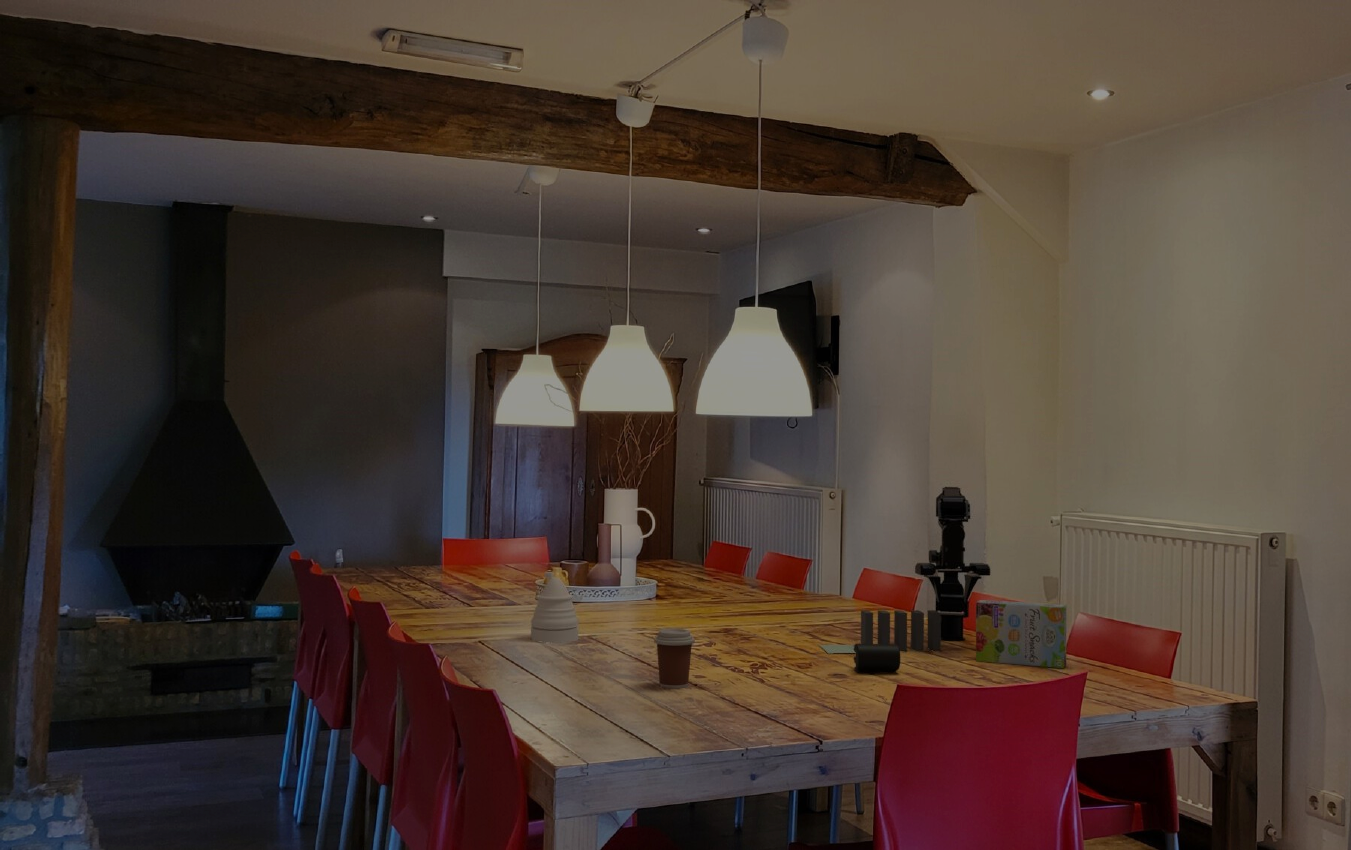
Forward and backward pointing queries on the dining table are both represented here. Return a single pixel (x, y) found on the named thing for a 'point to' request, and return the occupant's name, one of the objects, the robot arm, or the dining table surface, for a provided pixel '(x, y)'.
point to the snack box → (1021, 633)
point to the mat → (838, 648)
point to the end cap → (877, 657)
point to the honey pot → (554, 614)
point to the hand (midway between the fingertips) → (952, 601)
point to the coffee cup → (674, 657)
